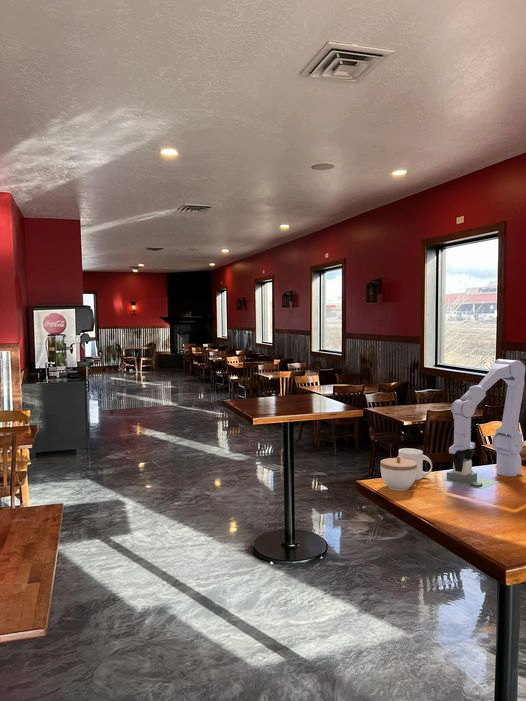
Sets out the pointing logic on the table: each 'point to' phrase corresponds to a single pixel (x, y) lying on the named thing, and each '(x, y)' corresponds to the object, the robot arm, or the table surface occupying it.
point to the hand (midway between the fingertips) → (461, 470)
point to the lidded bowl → (398, 473)
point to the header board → (469, 480)
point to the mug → (416, 460)
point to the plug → (465, 468)
